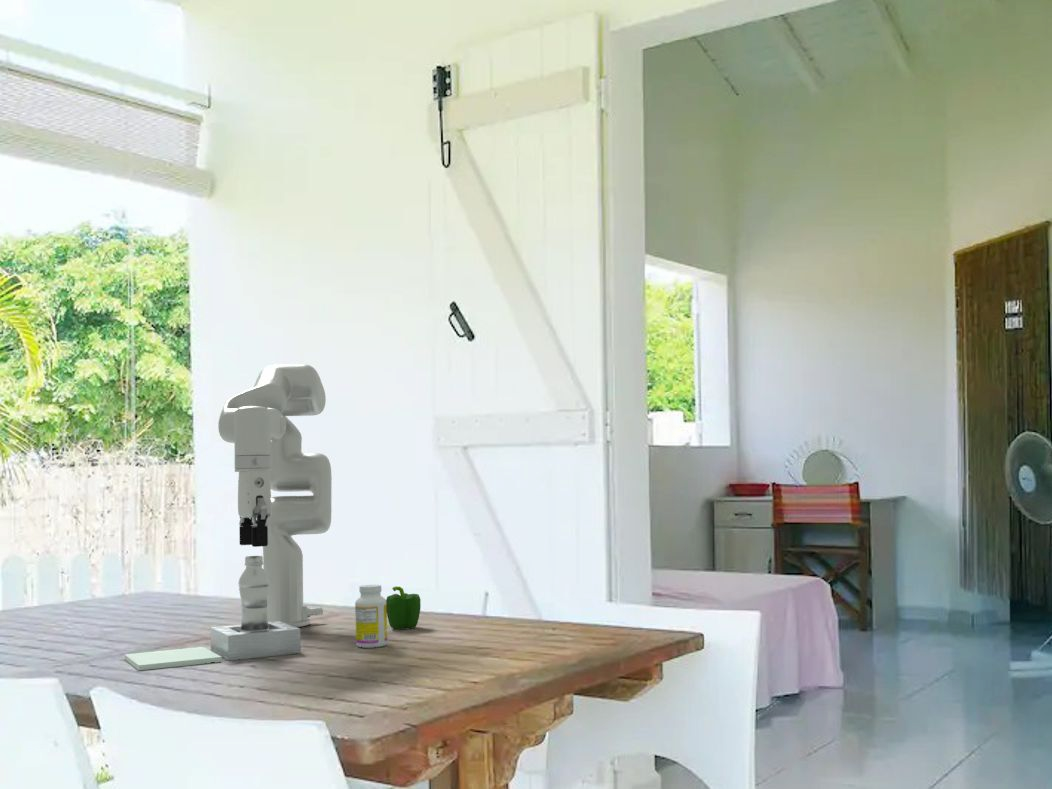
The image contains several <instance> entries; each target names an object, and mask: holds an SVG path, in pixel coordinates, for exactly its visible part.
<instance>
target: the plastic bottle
mask: <svg viewBox="0 0 1052 789" xmlns="http://www.w3.org/2000/svg"><path fill="white" fill-rule="evenodd" d="M244 566H245V569H244V570H243V572H242V573H241V575H240V577H239V578H238V579H239V580H238V588H239V596H240V604H241V606H240V607H241V623H240V625H241V631H240V632H250V631H261V630H269V628H268V627H269V625H268V615H267V606H268V592H269V582H270V581H269V578H268V576H267V574H266V572H265V571H264V570H263V555H249V556H248V555H247V556H245V558H244Z"/></svg>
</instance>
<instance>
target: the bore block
mask: <svg viewBox="0 0 1052 789" xmlns="http://www.w3.org/2000/svg"><path fill="white" fill-rule="evenodd" d="M268 625H269V627H268V628H269V630H261V631H250V632H240V631H241V624H235V625H233V624H232V625H222V626H220V625H219V626H211V627H210V651H212V652H214V653H216V654H217V655H219V656H221V657H222V659H225V660H226V661H229V660H230V661H238V660H239V659H240V660H248V659H255V658H256V659H257V658H267V657H274V656H275V657H276V656H285V655H296V653H297V654H301V652H302V651H301V650H302V649H301V646H302V645H301V644H302V642H301V628H300V627H294V626H291V625H289V624H286V623H283V622H281V621H275V622H268Z"/></svg>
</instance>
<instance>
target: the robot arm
mask: <svg viewBox="0 0 1052 789" xmlns="http://www.w3.org/2000/svg"><path fill="white" fill-rule="evenodd" d="M324 388H325V387H324V386H323V383H322V380H321V378H320V374H319V373H318V371H317V370H316V368H315V367H314V366H312V365H310V364H305V363H303V364H300V363H299V364H273V365H268V366H266V367H264V368H263V369H262V370H260V372H259V373H258V376H257V378H256V381H255V383H254V385H253V387H252V388H249V389H247V390H244V391H243V392H240V393H238V394H236V395H234V396H232V397H230V398H229V399H228V400H227V401H226V402H225V403H224V405H223V407H222V410H221V412H220V415H219V418H218V422H217V424H218V432H219V436H220V437H221V439H222V440H223V441H225V442H227V443H231V444H234V473H236V472H237V473H238V481H237V482H238V484H237V513H238V516H239V521H238V522H239V545H240V546H252V547H253V548H255V547H256V548H257V547H262V556H263V565H262V568H263V570H264V571H265V572H266V574H267V576H268V578H269V581H270V582H269V592H268V606H267V615H268V622H275V621H281V622H283V623H286V624H289V625H291V626H294V627H297V628H300V627H306V626H309V625H310V624H311V619H310V618H311V616H315V617H316V616H323V615H324V608H323V607H322V606H321V607H320V606H319V607H309V606H307V605H306V604H305V605H304V567H303V566H304V563H303V561H304V559H303V558H304V556H303V551H302V549H301V547H300V545H299V544H298V543H297V542H296V540H295V539H294V538H293V536H296V535H301V536H302V535H319V534H320V535H321V534H324V533H326V532H328V530H329V529H330V527H331V523H332V479H333V478H332V467H331V463H330V462H331V461H330V460H329V458H328V456H326V455H325V454H324V453H320V452H319V453H318V452H307V453H306V452H305V453H304V452H302V439H303V437H302V433H301V432H300V430H299V429H298V427H297V426H296V425H295V424H294V422H292V421H291V420H290V418H289V417H298V416H299V417H300V416H301V417H303V416H306V417H307V416H317V415H318V416H319V415H320V414H322V413H323V411H324V409H325V406H326V400H327V399H326V392H325V389H324ZM271 490H272V491H275V492H280V493H282V492H283V493H284V492H285V493H292V492H294V493H295V492H311V493H312V494H313V495H282V496H281V495H279V496H272V491H271Z"/></svg>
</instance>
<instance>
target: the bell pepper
mask: <svg viewBox="0 0 1052 789" xmlns="http://www.w3.org/2000/svg"><path fill="white" fill-rule="evenodd" d="M392 591H393V592H396V591H399V594H398V593H392V594H391V595H388V596H387V597H386V598H385V599H386V610H387V620H388V623H389V626H390V628H391V629H394V630H404V629H407V628H410V629H414V628H416V626H418V622H419V618H420V614H421V609H422V608H421V605H422V604H421V596H420V595H419V593H418V594H417V593H410V594H409V593H407V592H405V591H404V589H403V588H402V587H401V586H396V585H395V586H393V587H392Z"/></svg>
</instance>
